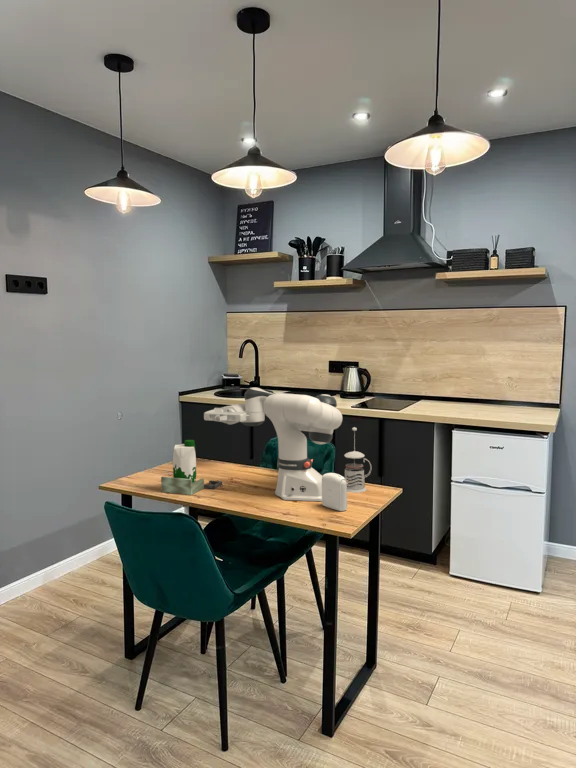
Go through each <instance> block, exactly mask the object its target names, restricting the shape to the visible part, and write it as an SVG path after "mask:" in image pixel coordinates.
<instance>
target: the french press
mask: <svg viewBox="0 0 576 768" xmlns="http://www.w3.org/2000/svg"><path fill="white" fill-rule="evenodd" d="M357 430H358V429H357V427H355V426H354V427H352V428H351V431H353V433H354V436H353V439H354V441H353V442H354V443H353V445H354V446H353V449H354V450H353V451H349V452H346V453H345V454H344V455H343V456H344V458H346V459H353V463H351V462H350V463H346V464H345V468H344V478H345V479H346V481H347V493H352V494H353V493H365V492H366V491H367V488H366V486H365V485H366V484H365V483H366V481H365V478H367V477H368V476H370V475H371V474H372V473H371V472H372V469H373V468H372V464H371V462H370V460H368V459H367V458H366V457H365V454H364V453H362V452H360V451H356V446H355V445H356V438H355V437H356V431H357ZM356 459H357V460H358V459H362V460H363V463H365V462H366V461H367V462H368V463H369V467H370V469H369V471H368V473H367V474H365V468H363V467H364V464H362V463H357V462H355V460H356Z"/></svg>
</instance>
